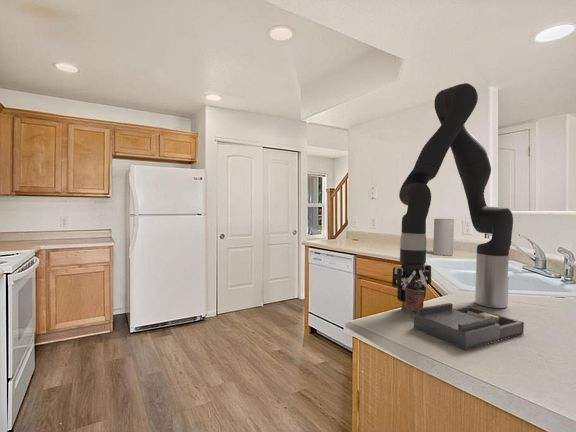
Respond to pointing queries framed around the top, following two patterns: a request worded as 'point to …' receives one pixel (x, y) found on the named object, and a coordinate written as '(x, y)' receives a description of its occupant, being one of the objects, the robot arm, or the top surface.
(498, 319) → the chip
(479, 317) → the chip
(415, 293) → the lighter
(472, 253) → the top surface
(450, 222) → the cylinder vase
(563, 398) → the top surface
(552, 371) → the top surface
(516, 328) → the tray
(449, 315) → the slot block
